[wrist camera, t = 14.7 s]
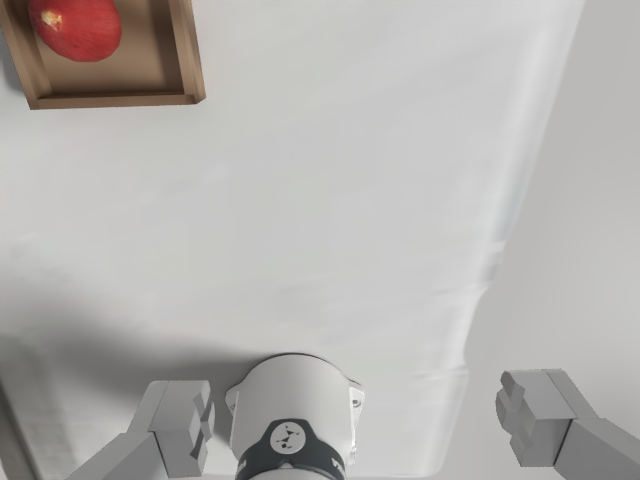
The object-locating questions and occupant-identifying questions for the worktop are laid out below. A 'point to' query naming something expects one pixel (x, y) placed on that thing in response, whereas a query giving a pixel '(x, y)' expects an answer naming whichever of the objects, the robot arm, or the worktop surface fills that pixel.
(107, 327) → the worktop surface
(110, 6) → the onion
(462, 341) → the worktop surface
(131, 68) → the walnut tray
